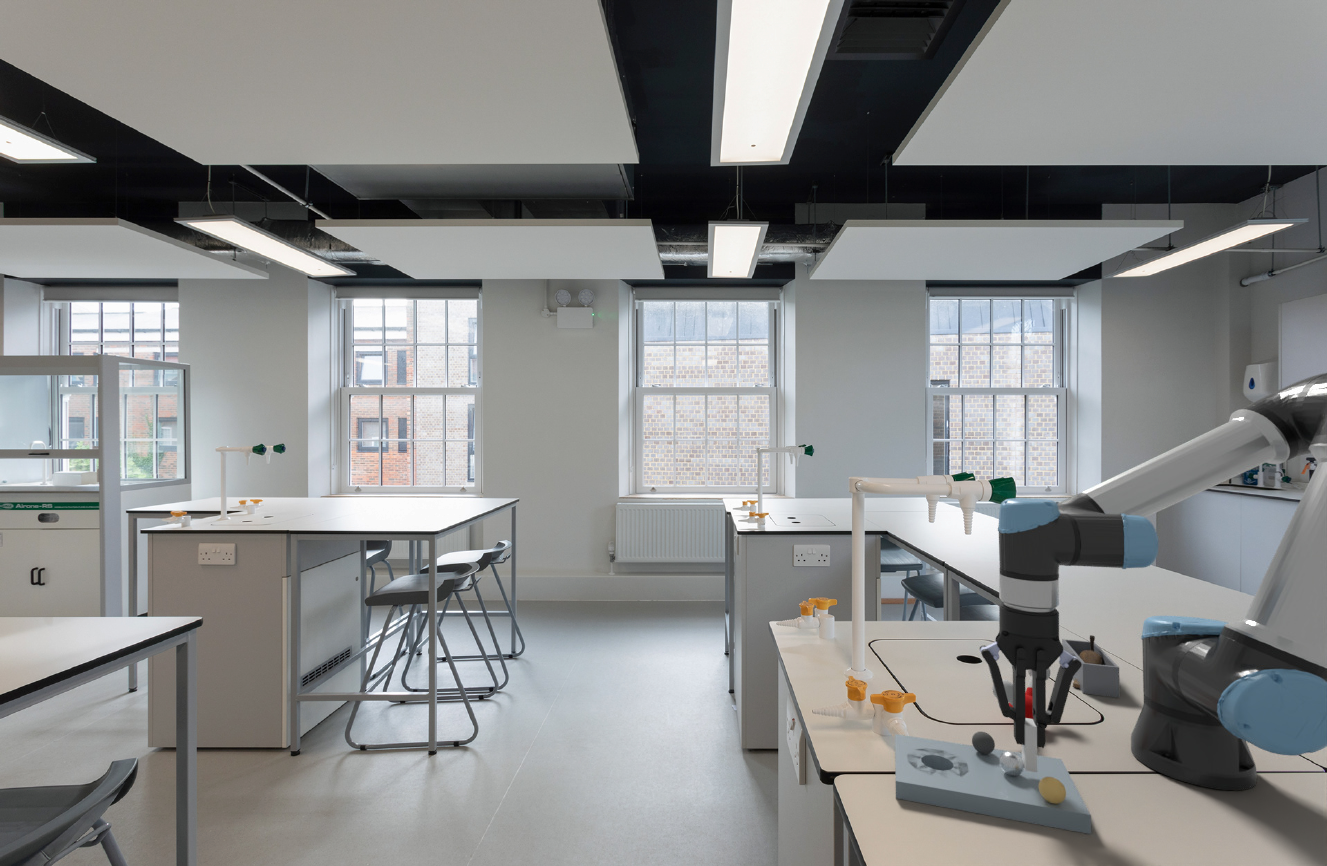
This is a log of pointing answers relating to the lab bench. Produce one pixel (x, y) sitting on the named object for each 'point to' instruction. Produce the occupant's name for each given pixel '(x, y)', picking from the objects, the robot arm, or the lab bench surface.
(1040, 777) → the plate
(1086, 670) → the open storage box
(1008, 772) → the steel ball
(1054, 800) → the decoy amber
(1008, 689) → the molecular model
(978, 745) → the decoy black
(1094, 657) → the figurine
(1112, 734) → the lab bench surface
